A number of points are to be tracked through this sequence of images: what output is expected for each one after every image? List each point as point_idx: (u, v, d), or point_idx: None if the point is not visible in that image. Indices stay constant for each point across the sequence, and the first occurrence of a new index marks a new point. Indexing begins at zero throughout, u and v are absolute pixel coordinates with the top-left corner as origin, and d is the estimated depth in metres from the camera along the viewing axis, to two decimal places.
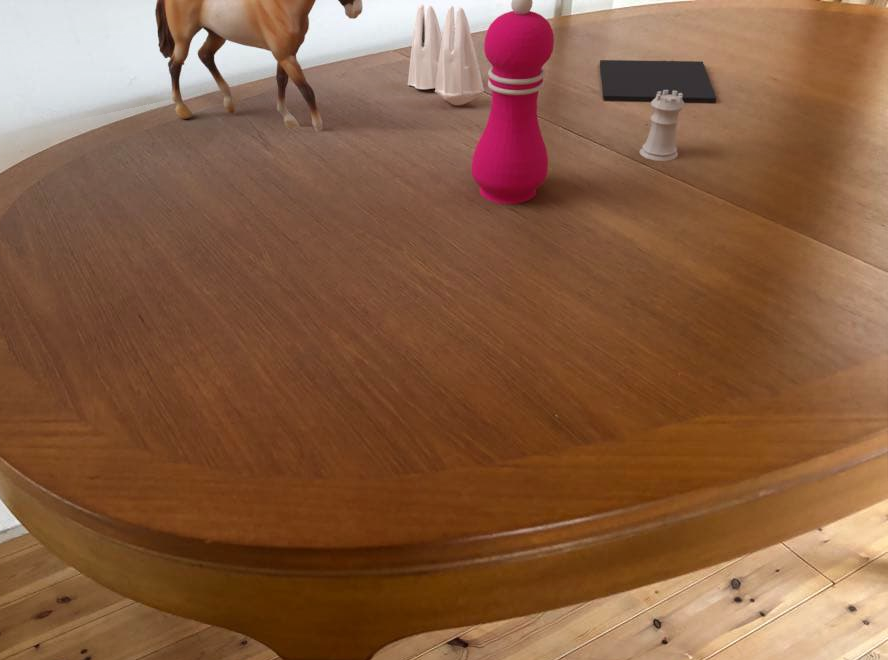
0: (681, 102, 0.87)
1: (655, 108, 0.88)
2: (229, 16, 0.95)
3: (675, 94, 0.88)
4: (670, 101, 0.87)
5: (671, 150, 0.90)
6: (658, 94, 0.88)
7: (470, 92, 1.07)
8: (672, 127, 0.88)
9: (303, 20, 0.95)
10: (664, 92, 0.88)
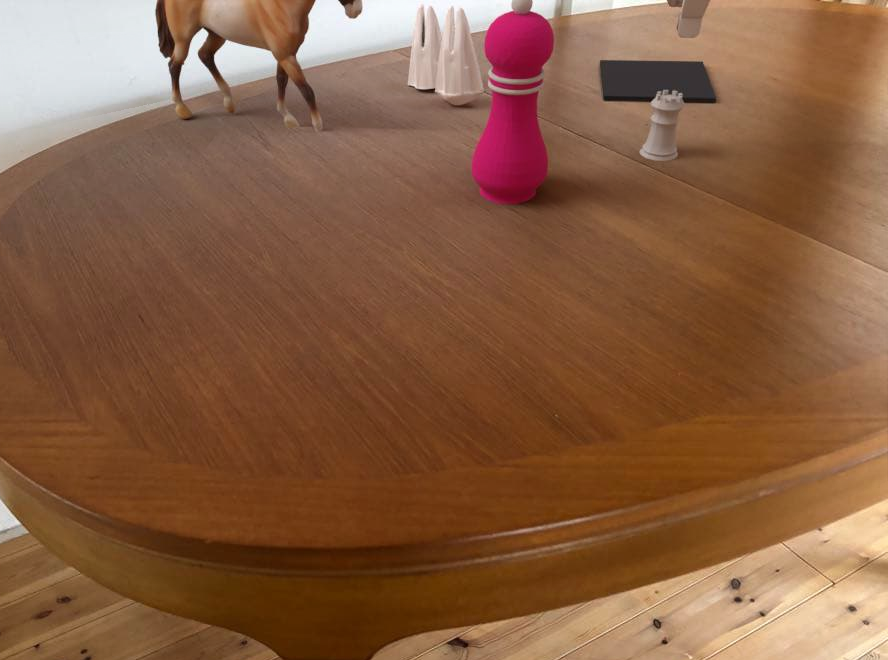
0: (681, 102, 0.87)
1: (655, 108, 0.88)
2: (229, 16, 0.95)
3: (675, 94, 0.88)
4: (670, 101, 0.87)
5: (671, 150, 0.90)
6: (658, 94, 0.88)
7: (470, 92, 1.07)
8: (672, 127, 0.88)
9: (303, 20, 0.95)
10: (664, 92, 0.88)
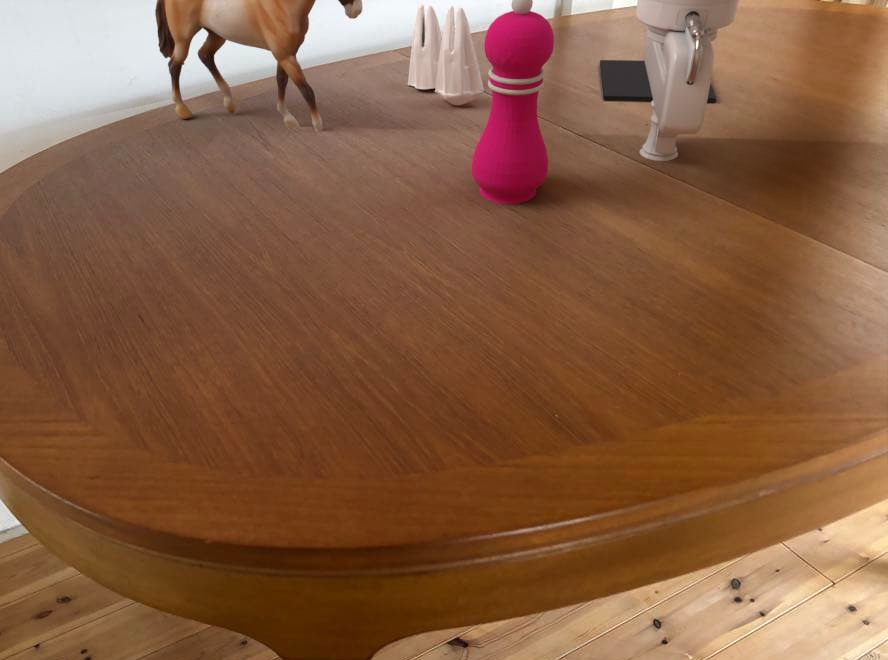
0: None
1: None
2: (229, 16, 0.95)
3: None
4: None
5: None
6: None
7: (470, 92, 1.07)
8: None
9: (303, 20, 0.95)
10: None
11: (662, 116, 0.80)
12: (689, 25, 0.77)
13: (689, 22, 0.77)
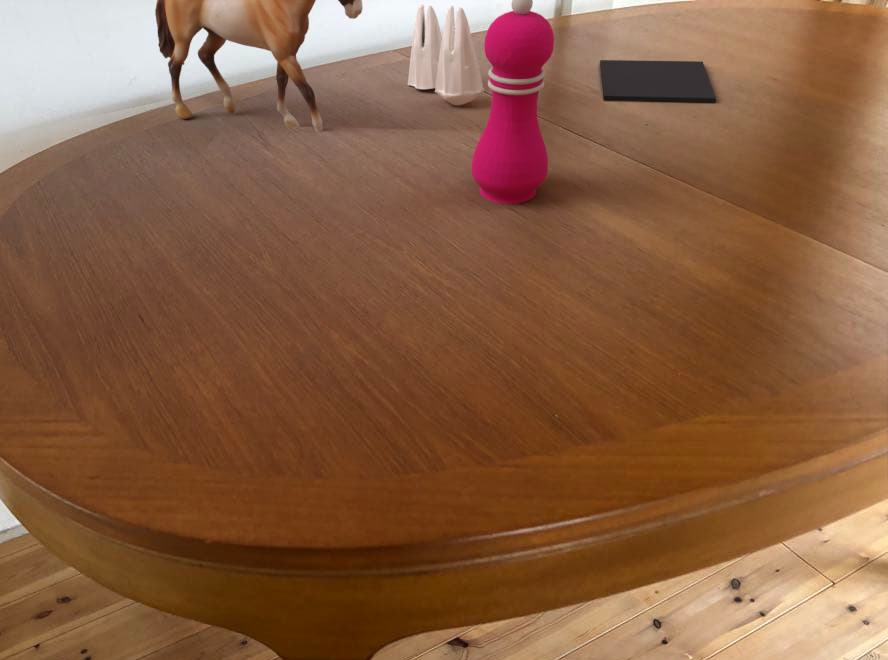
0: None
1: None
2: (229, 16, 0.95)
3: None
4: None
5: None
6: None
7: (470, 92, 1.07)
8: None
9: (303, 20, 0.95)
10: None
11: None
12: None
13: None
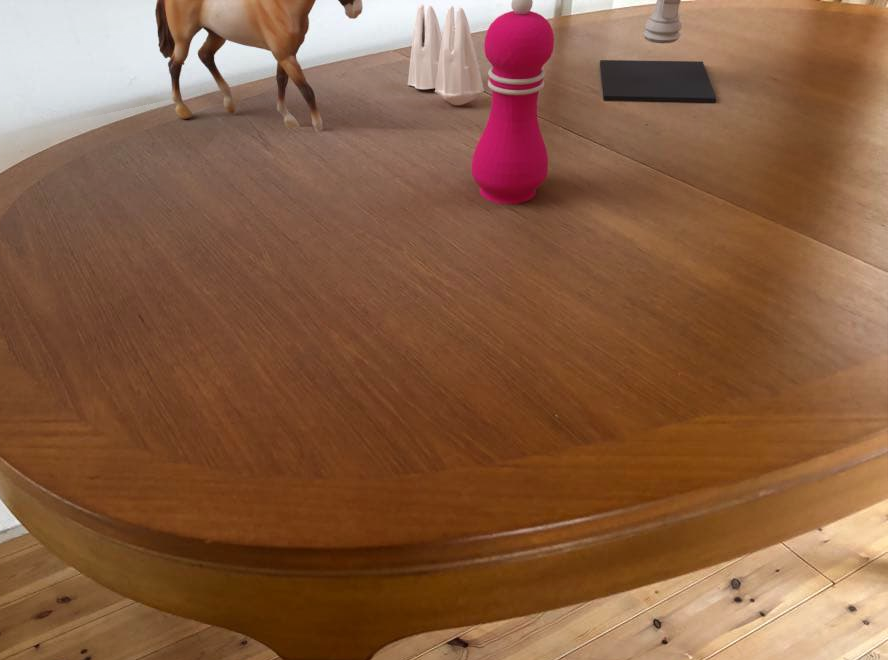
0: None
1: None
2: (229, 16, 0.95)
3: None
4: None
5: None
6: None
7: (470, 92, 1.07)
8: None
9: (303, 20, 0.95)
10: None
11: None
12: None
13: None
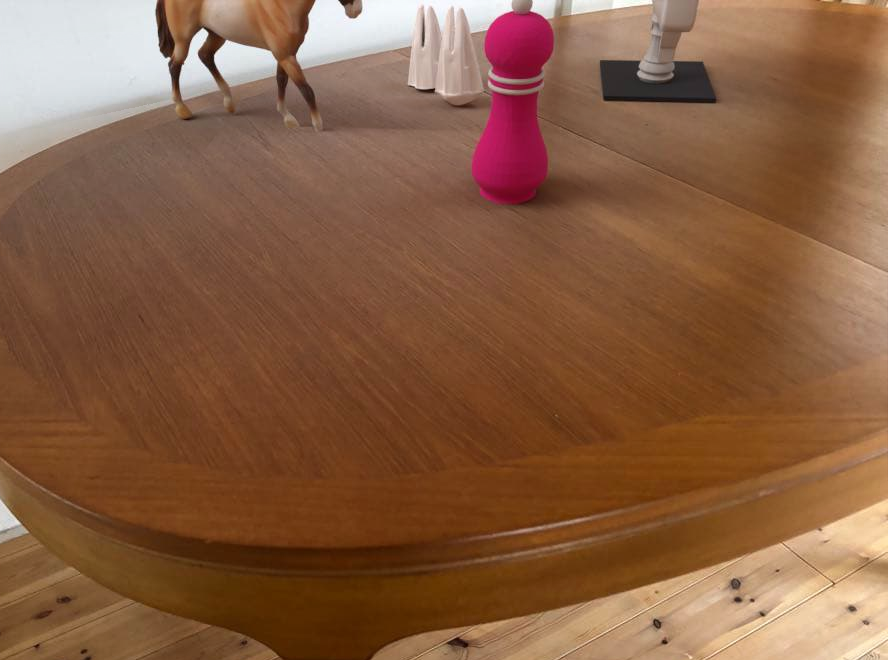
0: None
1: (654, 22, 1.07)
2: (229, 16, 0.95)
3: None
4: None
5: None
6: None
7: (470, 92, 1.07)
8: None
9: (303, 20, 0.95)
10: None
11: (662, 16, 0.98)
12: None
13: None
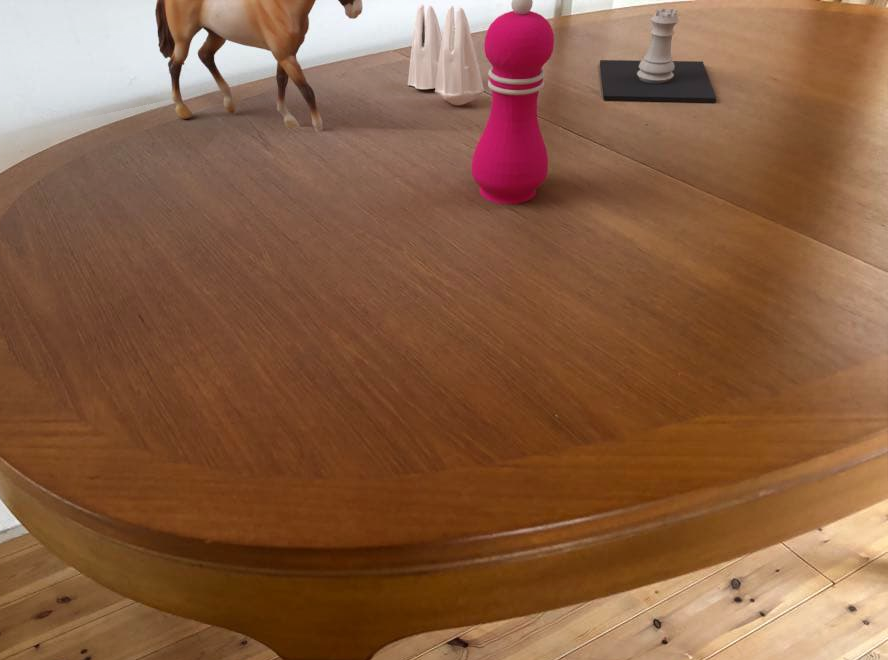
0: (675, 17, 1.06)
1: (654, 22, 1.07)
2: (229, 16, 0.95)
3: (671, 11, 1.07)
4: (666, 16, 1.06)
5: (667, 59, 1.09)
6: (657, 11, 1.07)
7: (470, 92, 1.07)
8: (668, 39, 1.07)
9: (303, 20, 0.95)
10: (661, 10, 1.07)
11: None
12: None
13: None
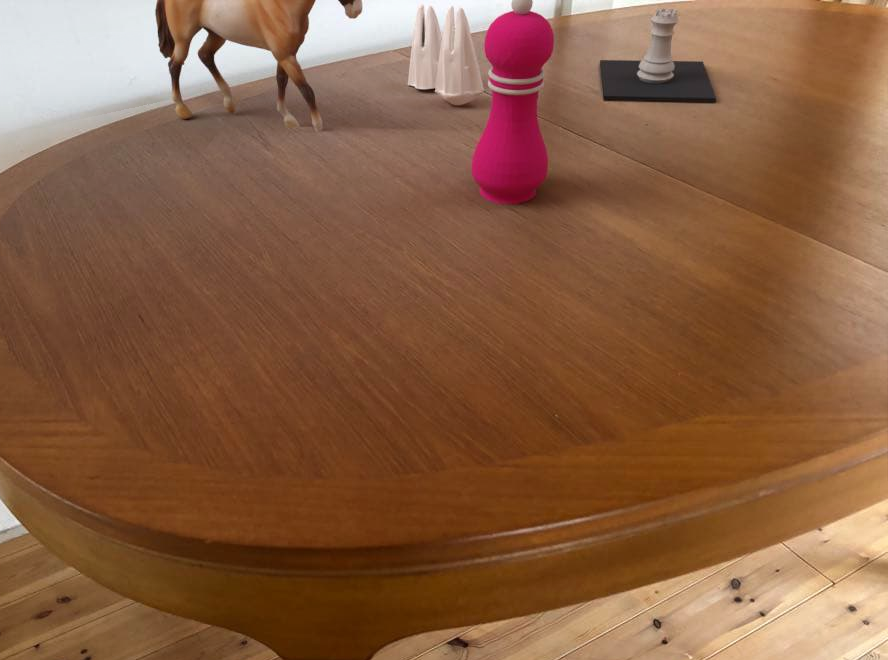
0: (675, 17, 1.06)
1: (654, 22, 1.07)
2: (229, 16, 0.95)
3: (671, 11, 1.07)
4: (666, 16, 1.06)
5: (667, 59, 1.09)
6: (657, 11, 1.07)
7: (470, 92, 1.07)
8: (668, 39, 1.07)
9: (303, 20, 0.95)
10: (661, 10, 1.07)
11: None
12: None
13: None
